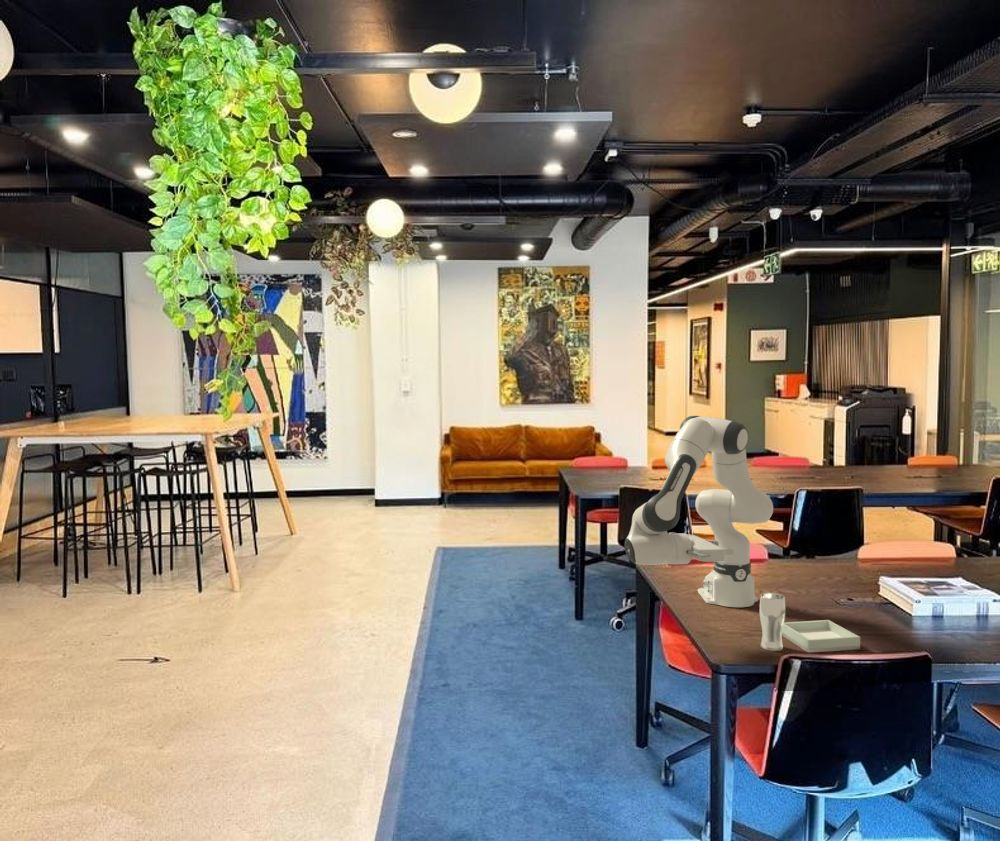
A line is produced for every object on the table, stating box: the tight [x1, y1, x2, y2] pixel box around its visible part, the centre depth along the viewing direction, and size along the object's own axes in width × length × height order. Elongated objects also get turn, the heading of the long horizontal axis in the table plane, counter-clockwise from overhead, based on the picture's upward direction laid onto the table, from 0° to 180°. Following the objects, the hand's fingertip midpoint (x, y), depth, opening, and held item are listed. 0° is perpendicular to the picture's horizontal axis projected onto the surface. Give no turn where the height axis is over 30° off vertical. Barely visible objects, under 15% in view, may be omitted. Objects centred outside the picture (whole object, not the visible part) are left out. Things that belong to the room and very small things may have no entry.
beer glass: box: [758, 592, 786, 652], centre depth 207 cm, size 7×7×15 cm
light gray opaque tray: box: [782, 619, 861, 653], centre depth 211 cm, size 15×16×4 cm
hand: (724, 547), depth 212 cm, fingers open, 8 cm apart
